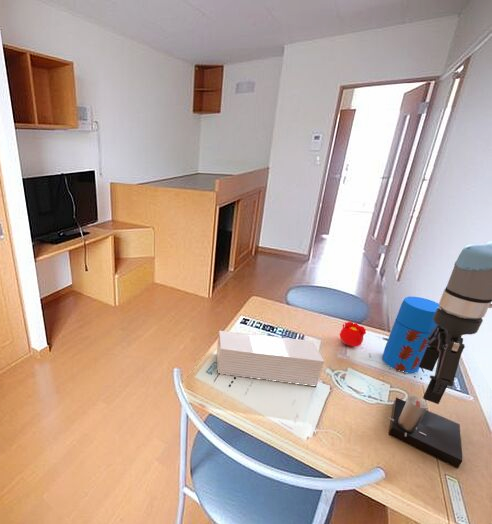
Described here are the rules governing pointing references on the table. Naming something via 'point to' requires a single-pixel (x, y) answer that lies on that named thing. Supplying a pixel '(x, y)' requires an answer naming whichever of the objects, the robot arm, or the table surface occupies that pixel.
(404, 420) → the beige cylinder
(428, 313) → the thermos
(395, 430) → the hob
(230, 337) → the stack of papers
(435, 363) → the robot arm
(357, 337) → the flower
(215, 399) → the table surface
